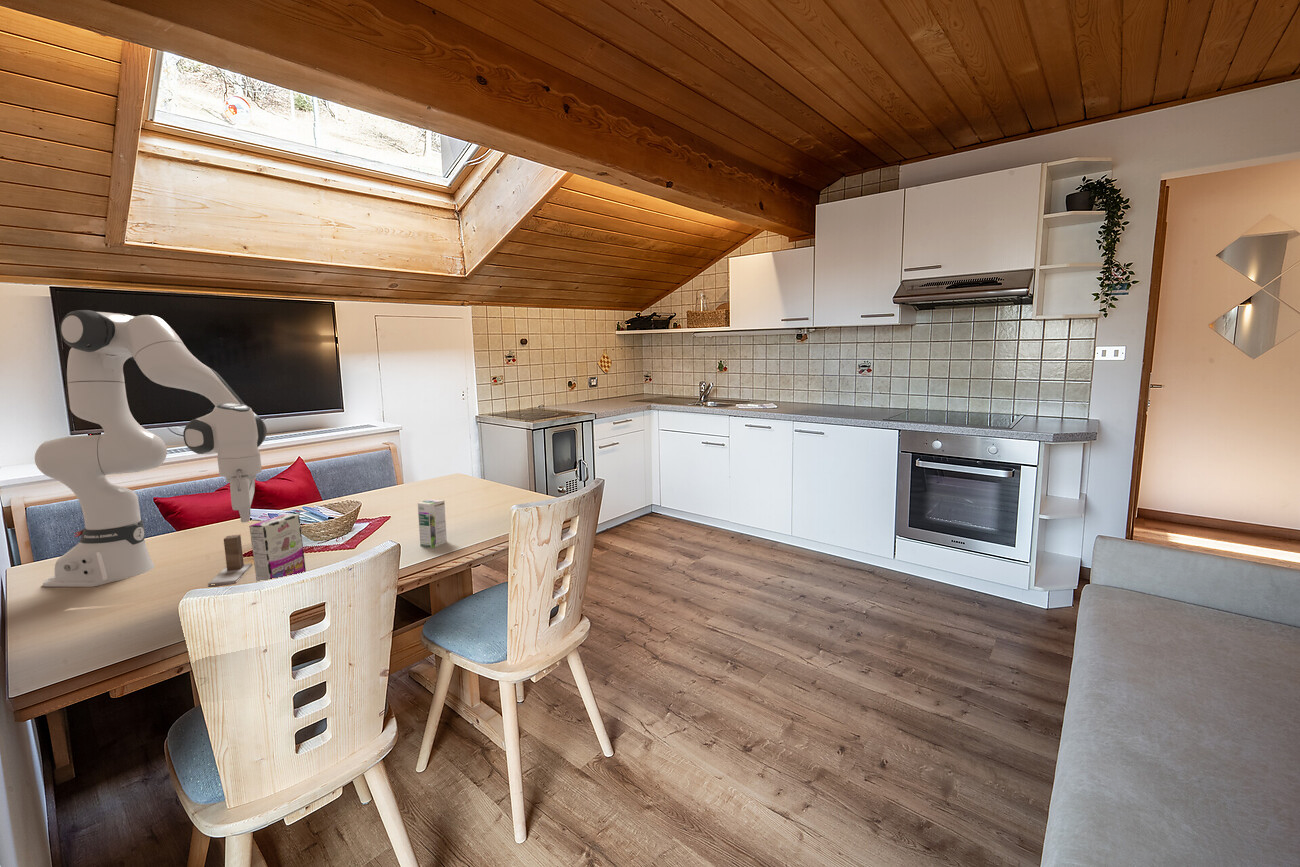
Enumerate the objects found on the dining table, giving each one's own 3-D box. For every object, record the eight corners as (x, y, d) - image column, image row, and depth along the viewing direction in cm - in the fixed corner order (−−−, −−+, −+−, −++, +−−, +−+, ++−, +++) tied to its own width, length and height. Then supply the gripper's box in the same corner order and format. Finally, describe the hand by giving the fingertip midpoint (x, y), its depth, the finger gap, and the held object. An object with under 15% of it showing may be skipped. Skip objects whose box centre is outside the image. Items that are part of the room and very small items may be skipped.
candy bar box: (291, 571, 154) (285, 513, 152) (306, 572, 153) (300, 513, 151) (255, 587, 143) (248, 524, 141) (271, 588, 142) (264, 525, 140)
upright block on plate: (226, 569, 156) (222, 535, 155) (252, 566, 158) (248, 532, 157) (208, 587, 144) (203, 549, 142) (236, 583, 146) (232, 546, 145)
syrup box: (419, 549, 170) (416, 502, 169) (433, 543, 176) (430, 498, 174) (434, 551, 168) (430, 504, 167) (448, 545, 174) (445, 499, 172)
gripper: (253, 471, 136) (259, 527, 138) (257, 460, 153) (262, 509, 155) (220, 475, 133) (227, 531, 134) (228, 463, 150) (234, 513, 152)
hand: (246, 519), depth 145 cm, fingers open, 3 cm apart
